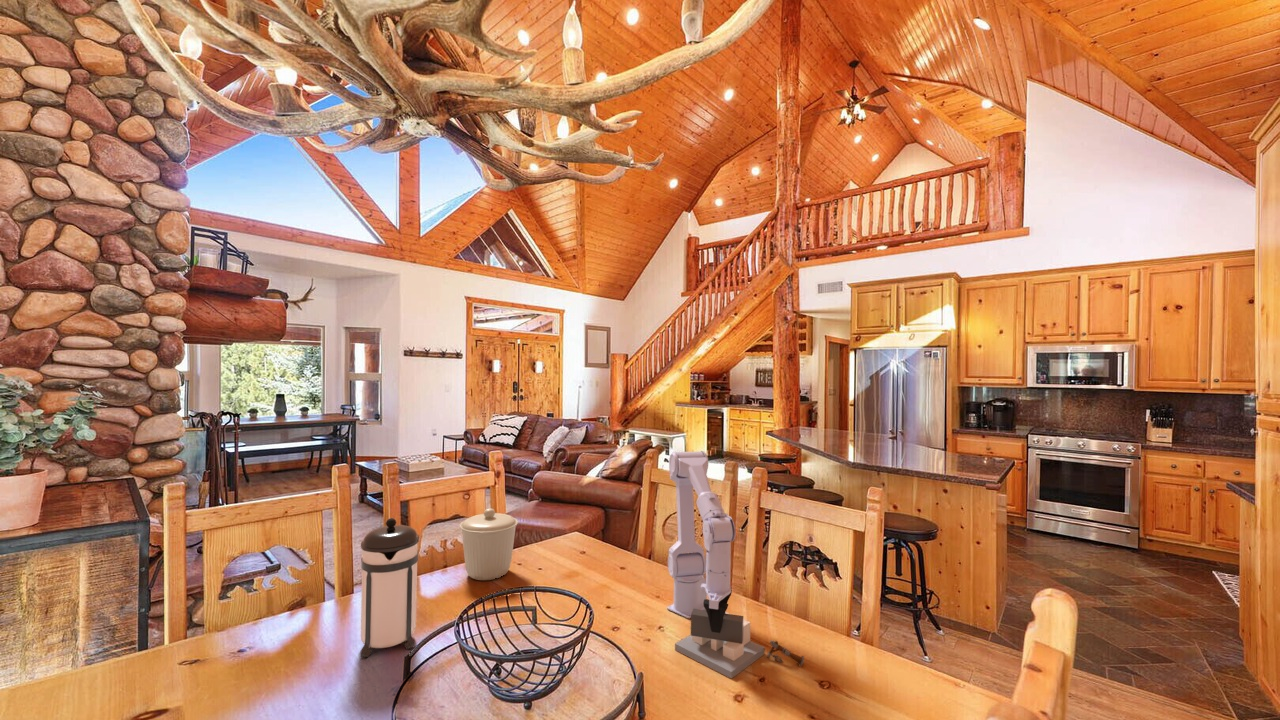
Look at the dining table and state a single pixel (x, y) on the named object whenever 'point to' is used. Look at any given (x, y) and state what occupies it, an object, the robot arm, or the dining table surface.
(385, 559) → the coffee press
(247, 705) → the dining table surface
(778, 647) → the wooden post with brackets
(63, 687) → the dining table surface
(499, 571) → the canister
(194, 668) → the dining table surface
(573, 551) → the dining table surface
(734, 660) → the stand
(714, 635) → the charcoal rectangular block
